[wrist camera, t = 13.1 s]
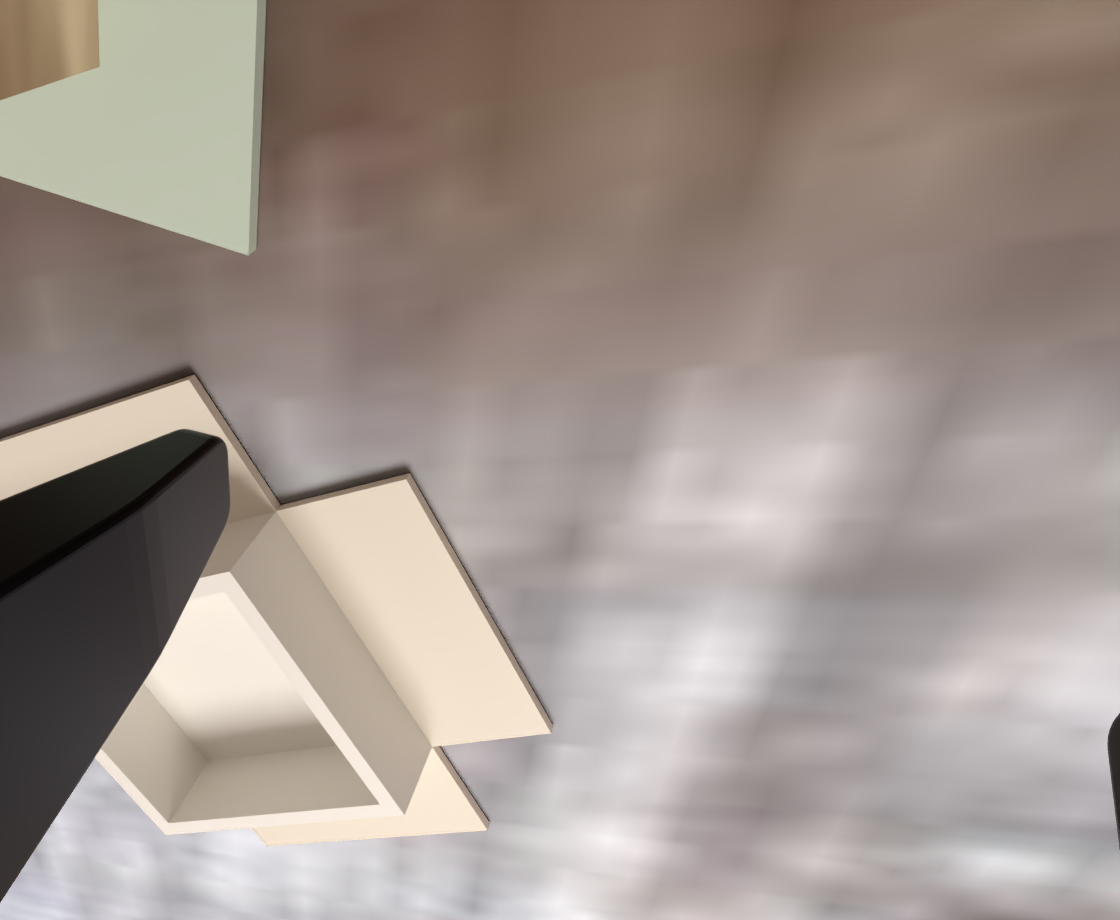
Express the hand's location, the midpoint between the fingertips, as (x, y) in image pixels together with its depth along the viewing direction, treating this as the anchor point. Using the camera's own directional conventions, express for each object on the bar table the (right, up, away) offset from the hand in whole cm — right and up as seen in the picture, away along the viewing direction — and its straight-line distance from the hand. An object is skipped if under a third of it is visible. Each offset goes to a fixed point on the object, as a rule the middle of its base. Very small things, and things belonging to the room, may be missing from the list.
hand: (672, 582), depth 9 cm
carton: (-12, -5, +22) cm, 26 cm away
